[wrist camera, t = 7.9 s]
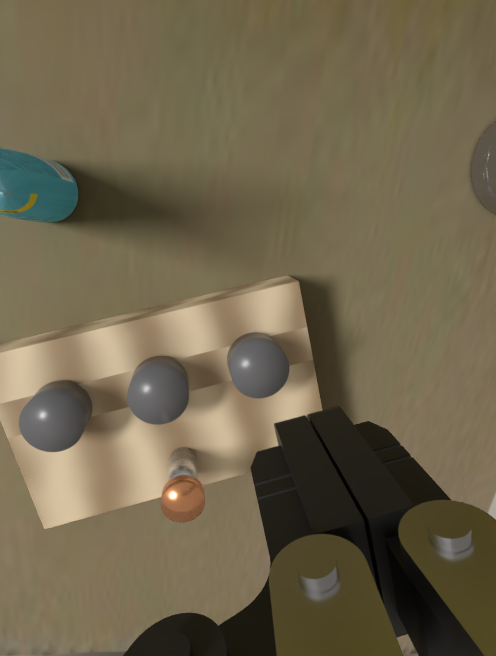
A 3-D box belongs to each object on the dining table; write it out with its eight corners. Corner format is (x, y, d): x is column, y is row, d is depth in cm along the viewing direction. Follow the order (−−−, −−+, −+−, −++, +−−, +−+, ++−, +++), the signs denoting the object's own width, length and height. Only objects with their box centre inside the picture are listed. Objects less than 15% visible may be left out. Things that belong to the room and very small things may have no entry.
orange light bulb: (196, 438, 38) (198, 479, 32) (205, 470, 39) (209, 515, 33) (160, 448, 38) (155, 491, 32) (169, 480, 38) (167, 527, 32)
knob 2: (266, 316, 40) (283, 335, 33) (276, 363, 41) (294, 390, 34) (217, 328, 39) (224, 350, 33) (229, 375, 41) (237, 404, 34)
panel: (287, 275, 40) (298, 281, 36) (316, 430, 44) (329, 450, 40) (-4, 344, 37) (-25, 358, 34) (57, 500, 42) (44, 529, 38)
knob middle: (180, 337, 39) (180, 361, 33) (193, 384, 40) (195, 415, 34) (130, 350, 39) (119, 376, 32) (144, 396, 40) (136, 431, 33)
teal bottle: (-3, 213, 35) (-211, 203, 17) (1, 150, 34) (-214, 65, 16) (93, 230, 36) (0, 241, 18) (99, 170, 35) (9, 116, 17)
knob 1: (91, 359, 38) (73, 388, 32) (107, 406, 40) (92, 442, 33) (39, 372, 38) (9, 404, 31) (56, 419, 39) (31, 459, 33)
